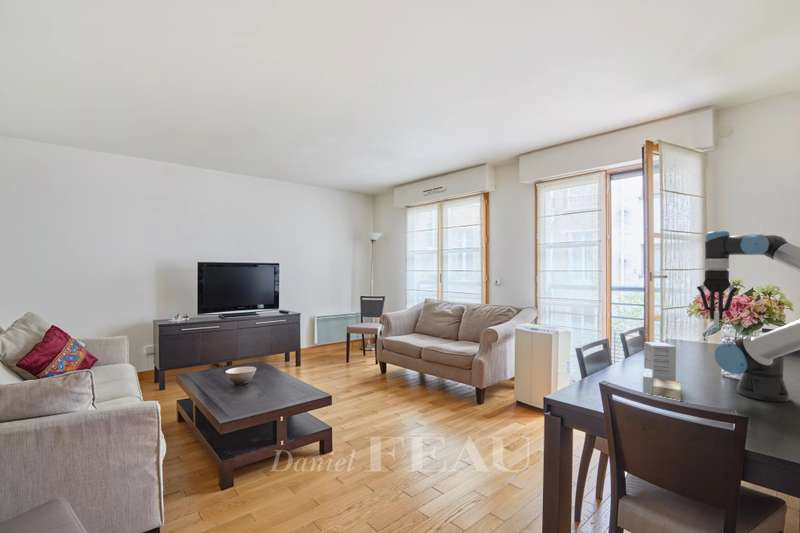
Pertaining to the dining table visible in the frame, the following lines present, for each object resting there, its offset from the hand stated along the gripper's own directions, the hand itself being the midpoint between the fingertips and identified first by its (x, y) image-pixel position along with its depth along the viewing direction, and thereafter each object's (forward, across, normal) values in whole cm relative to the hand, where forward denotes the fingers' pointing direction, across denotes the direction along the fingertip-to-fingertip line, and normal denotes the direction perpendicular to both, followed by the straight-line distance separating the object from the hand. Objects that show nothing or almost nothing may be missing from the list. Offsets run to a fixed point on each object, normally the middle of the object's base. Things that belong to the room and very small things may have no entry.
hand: (716, 327), depth 157 cm
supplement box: (+27, +19, -4) cm, 33 cm away
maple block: (+27, +17, +15) cm, 35 cm away
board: (+26, +23, +15) cm, 38 cm away
